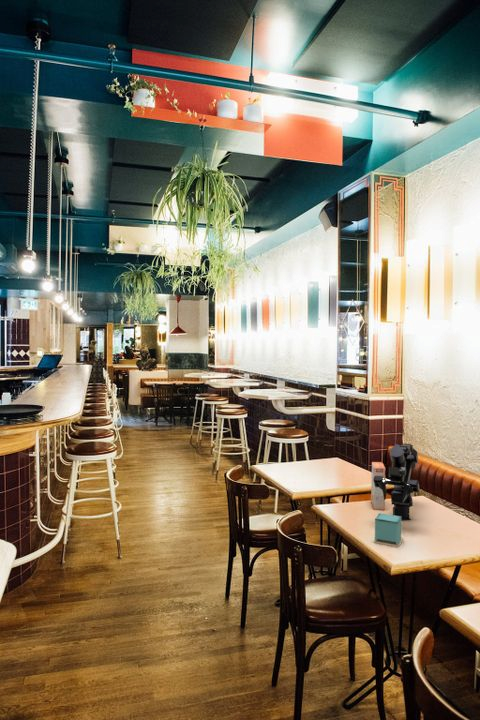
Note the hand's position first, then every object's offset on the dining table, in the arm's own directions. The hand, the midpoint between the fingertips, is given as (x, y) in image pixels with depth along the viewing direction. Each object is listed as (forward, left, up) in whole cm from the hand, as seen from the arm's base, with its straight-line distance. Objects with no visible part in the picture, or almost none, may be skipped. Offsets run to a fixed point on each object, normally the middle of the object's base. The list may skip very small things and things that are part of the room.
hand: (393, 500), depth 210 cm
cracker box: (-4, -37, -14) cm, 39 cm away
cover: (+5, +11, -13) cm, 18 cm away
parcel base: (+5, +10, -13) cm, 17 cm away
